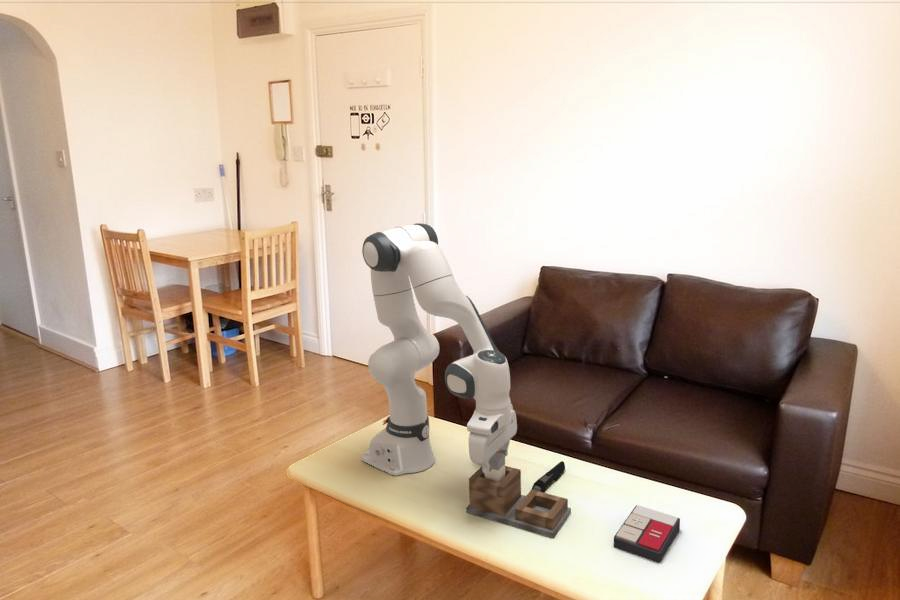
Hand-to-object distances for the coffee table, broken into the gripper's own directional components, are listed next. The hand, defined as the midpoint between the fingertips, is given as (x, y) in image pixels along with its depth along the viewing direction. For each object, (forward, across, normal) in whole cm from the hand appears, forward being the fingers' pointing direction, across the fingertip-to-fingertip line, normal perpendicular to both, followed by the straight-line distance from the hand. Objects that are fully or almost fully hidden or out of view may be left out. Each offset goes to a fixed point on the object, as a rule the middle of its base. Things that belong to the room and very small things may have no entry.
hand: (495, 463), depth 166 cm
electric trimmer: (+13, -18, +7) cm, 23 cm away
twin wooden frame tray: (+12, 0, +6) cm, 14 cm away
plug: (+6, 0, 0) cm, 6 cm away
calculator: (+14, -4, +38) cm, 40 cm away
